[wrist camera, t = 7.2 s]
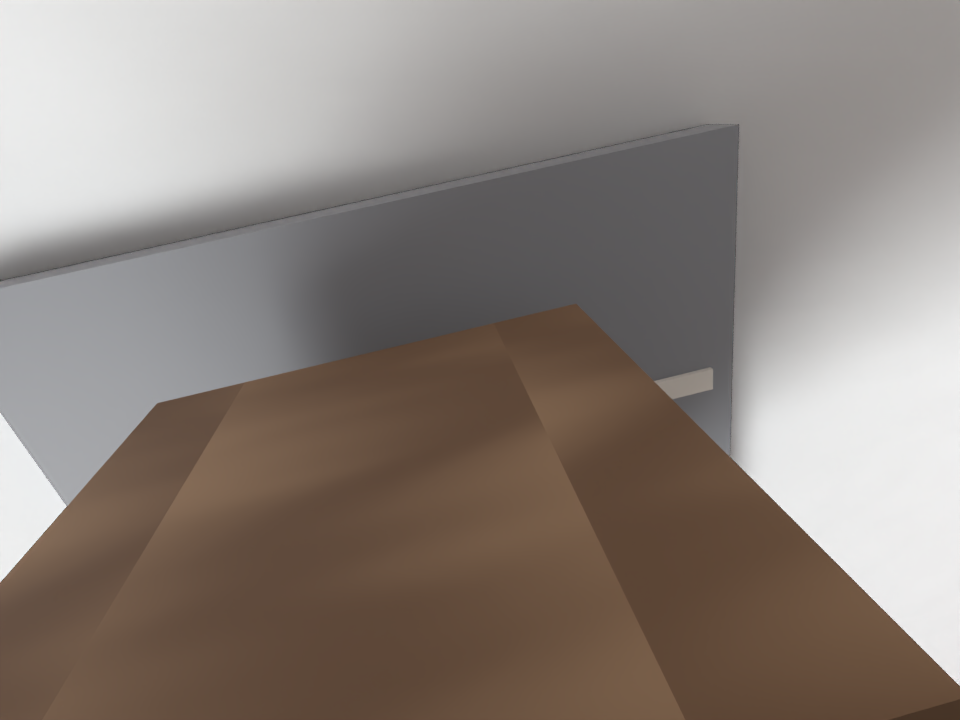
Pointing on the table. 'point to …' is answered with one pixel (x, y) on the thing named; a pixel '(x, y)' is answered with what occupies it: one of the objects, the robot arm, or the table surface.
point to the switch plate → (387, 291)
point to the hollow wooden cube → (444, 558)
